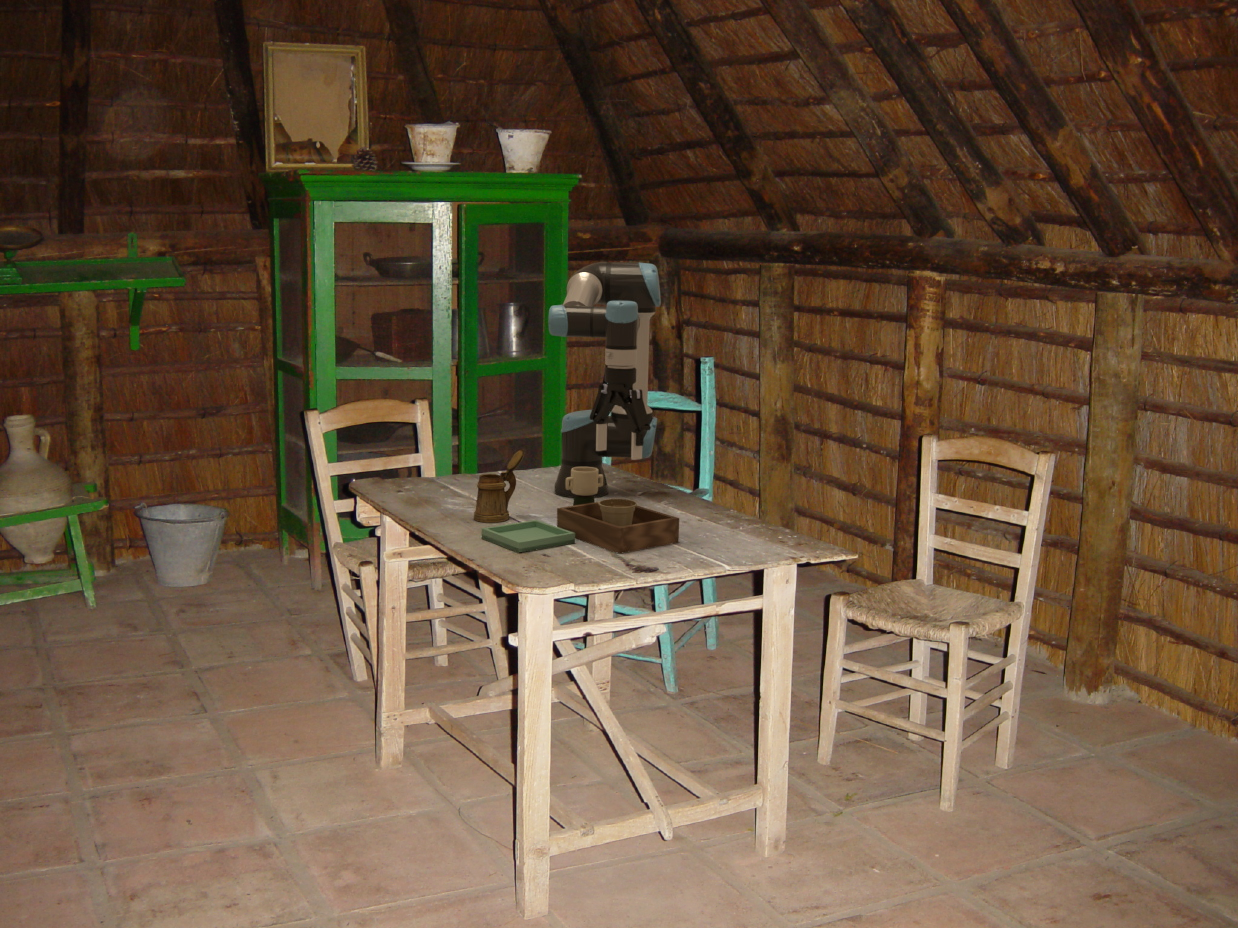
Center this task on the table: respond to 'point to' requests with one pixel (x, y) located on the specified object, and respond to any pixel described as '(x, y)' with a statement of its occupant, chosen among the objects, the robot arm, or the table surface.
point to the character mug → (584, 484)
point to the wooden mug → (496, 492)
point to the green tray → (528, 536)
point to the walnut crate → (619, 528)
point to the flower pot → (617, 511)
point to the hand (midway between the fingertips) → (618, 454)
